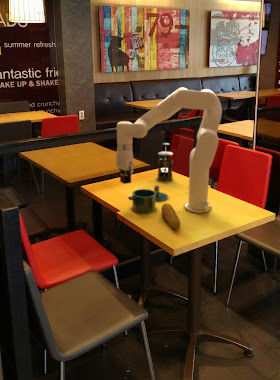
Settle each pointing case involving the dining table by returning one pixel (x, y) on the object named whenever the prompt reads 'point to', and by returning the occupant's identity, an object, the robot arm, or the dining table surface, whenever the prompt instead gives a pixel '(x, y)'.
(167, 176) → the french press
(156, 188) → the lid
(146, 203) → the pot
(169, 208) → the food
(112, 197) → the dining table surface
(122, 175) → the block
